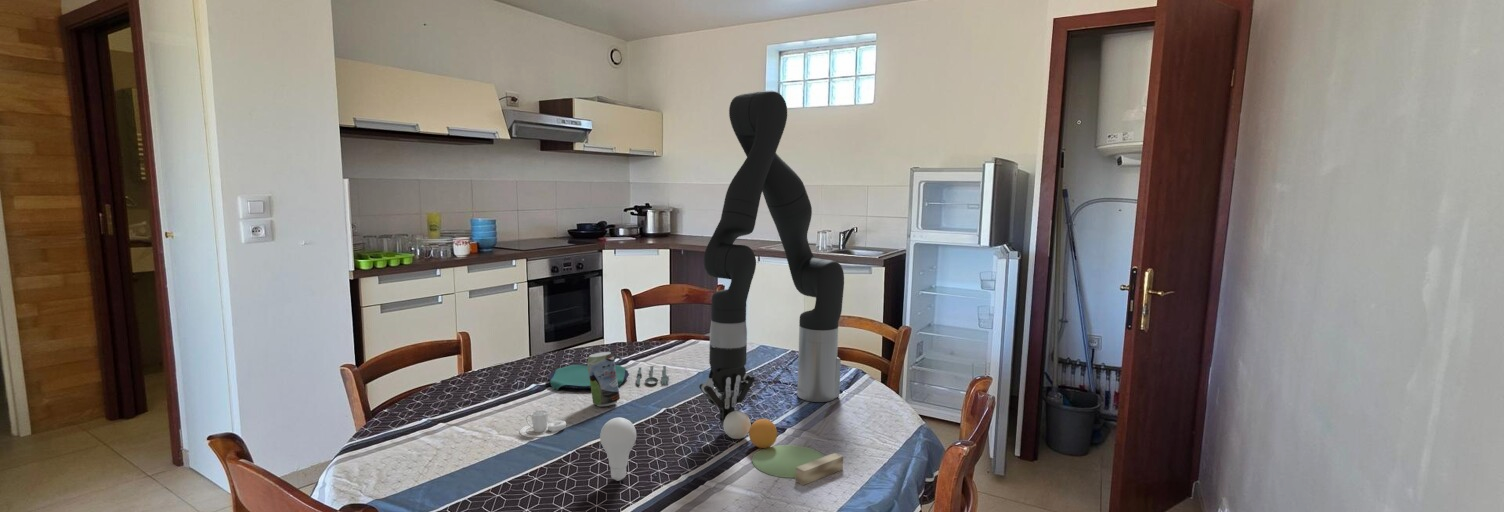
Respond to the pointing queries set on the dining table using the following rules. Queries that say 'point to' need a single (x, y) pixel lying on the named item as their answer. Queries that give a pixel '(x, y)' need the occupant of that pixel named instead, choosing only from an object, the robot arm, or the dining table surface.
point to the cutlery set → (580, 379)
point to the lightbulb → (618, 444)
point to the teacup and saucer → (542, 424)
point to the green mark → (784, 459)
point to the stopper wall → (819, 468)
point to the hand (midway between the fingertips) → (726, 424)
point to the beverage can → (603, 379)
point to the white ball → (736, 424)
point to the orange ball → (763, 433)
